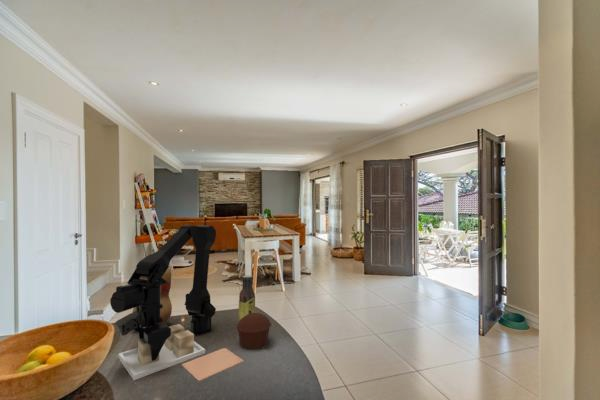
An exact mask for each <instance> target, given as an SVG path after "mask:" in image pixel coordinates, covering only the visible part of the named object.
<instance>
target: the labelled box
mask: <svg viewBox="0 0 600 400" xmlns="http://www.w3.org/2000/svg"><path fill="white" fill-rule="evenodd" d="M137 342H138V343H137V344H138V345H137V348H138V361H139V362H140V364H141V365H142V366H144V365H147V364H150V363H153V362H156V361H159V355H158V357H157V359H156V360H154V361H152V359H151V353H150V346H149V344H147V343H146V342H145V341H144V338H143V339H140V340H139V339H138V341H137Z"/></svg>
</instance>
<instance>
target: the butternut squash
mask: <svg viewBox="0 0 600 400" xmlns="http://www.w3.org/2000/svg"><path fill="white" fill-rule="evenodd" d="M162 278H163V279H164V280H166V281H167V283H165V284H162V285H161V299H160V303H161V304H162V305H163V308H161V309H160V317H161V318H162V322H160V323H158V325H159V324H163V323H164V324H166V323H167V321H168V320H169V319H170V318H171V317H172V312H173V311H172V310H173V308H172V307H173V305H172V302H171V298H170V296H169V295H170V290H171V287H172V269H171V267H170V265H169V268H168V269H167V271H166V272H165V273H164V275H163V276H162ZM140 279H143V280H148V279H144V278H140ZM135 311H136V307H135V308H132V312H131V313H133V312H135Z"/></svg>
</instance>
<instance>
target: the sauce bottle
mask: <svg viewBox="0 0 600 400" xmlns="http://www.w3.org/2000/svg"><path fill="white" fill-rule="evenodd" d="M241 277H242V278H241V280H242V289H241V290H240V292H239V296H238V297H239V298H238V299H239V300H238V322H239V321H240V320H241V319H242V318H243V317H244V316H246V315H248V314H251V313H256V294H255V291H254V287H253V279H254V277H253V275H249V274H248V275H242V276H241ZM238 322H237V323H238Z"/></svg>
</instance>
